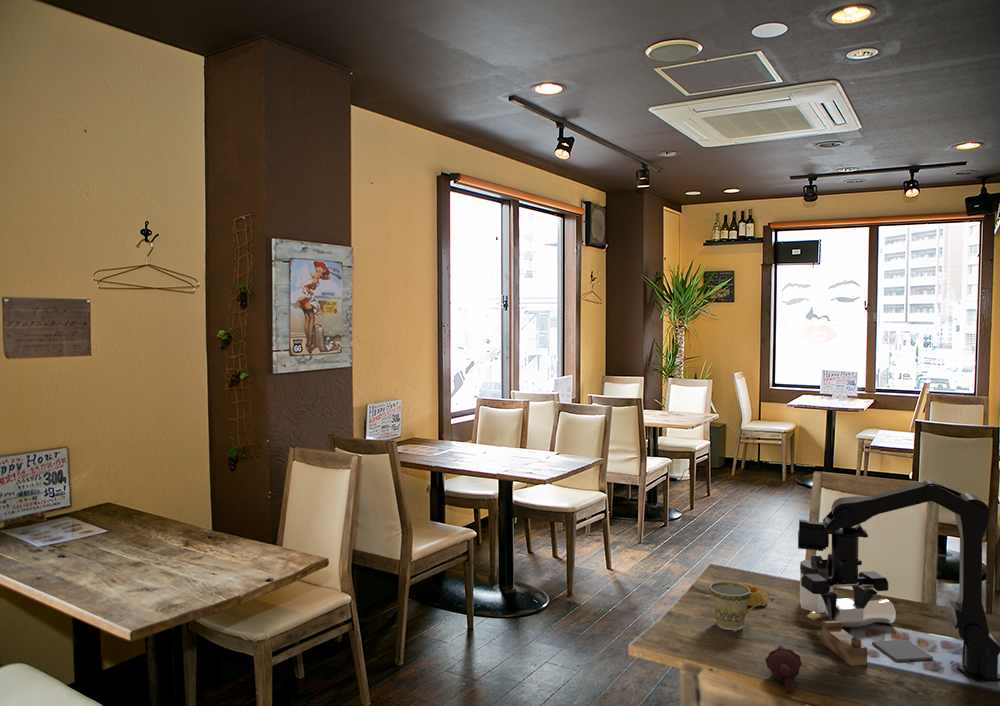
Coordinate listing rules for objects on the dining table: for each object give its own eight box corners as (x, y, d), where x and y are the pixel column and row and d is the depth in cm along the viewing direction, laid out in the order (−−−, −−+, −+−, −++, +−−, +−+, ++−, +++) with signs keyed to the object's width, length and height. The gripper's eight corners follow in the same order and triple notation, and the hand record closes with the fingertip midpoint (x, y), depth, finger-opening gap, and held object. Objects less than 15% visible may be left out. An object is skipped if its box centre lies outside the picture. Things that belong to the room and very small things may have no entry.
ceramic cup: (710, 632, 179) (710, 593, 179) (708, 616, 189) (708, 579, 188) (764, 637, 176) (764, 598, 176) (759, 620, 186) (760, 583, 185)
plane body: (867, 664, 162) (867, 640, 161) (850, 665, 161) (850, 641, 161) (837, 641, 173) (837, 618, 173) (821, 642, 173) (821, 619, 173)
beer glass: (900, 610, 179) (848, 613, 177) (891, 631, 182) (839, 634, 180) (883, 591, 186) (832, 593, 183) (874, 610, 188) (824, 613, 186)
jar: (798, 599, 200) (799, 557, 199) (830, 602, 197) (830, 560, 196) (800, 611, 191) (801, 568, 191) (833, 615, 188) (834, 571, 188)
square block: (863, 621, 164) (863, 608, 164) (839, 622, 163) (839, 609, 163) (848, 610, 170) (848, 598, 170) (825, 611, 169) (825, 599, 169)
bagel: (757, 612, 191) (757, 594, 191) (720, 601, 200) (720, 584, 199) (774, 602, 198) (774, 585, 198) (738, 592, 206) (738, 576, 206)
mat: (932, 659, 164) (932, 656, 164) (896, 661, 163) (896, 659, 163) (906, 641, 173) (906, 639, 173) (872, 644, 172) (872, 641, 172)
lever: (838, 619, 173) (837, 610, 173) (822, 620, 172) (820, 611, 173) (820, 619, 181) (818, 611, 182) (804, 620, 181) (802, 611, 181)
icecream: (759, 633, 164) (765, 669, 150) (793, 629, 162) (802, 665, 147) (767, 661, 164) (773, 700, 150) (800, 657, 162) (810, 696, 148)
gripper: (861, 540, 175) (860, 602, 176) (789, 543, 173) (789, 606, 174) (890, 555, 164) (889, 621, 165) (814, 559, 162) (813, 625, 163)
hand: (844, 618), depth 167 cm, fingers closed on square block, 6 cm apart
